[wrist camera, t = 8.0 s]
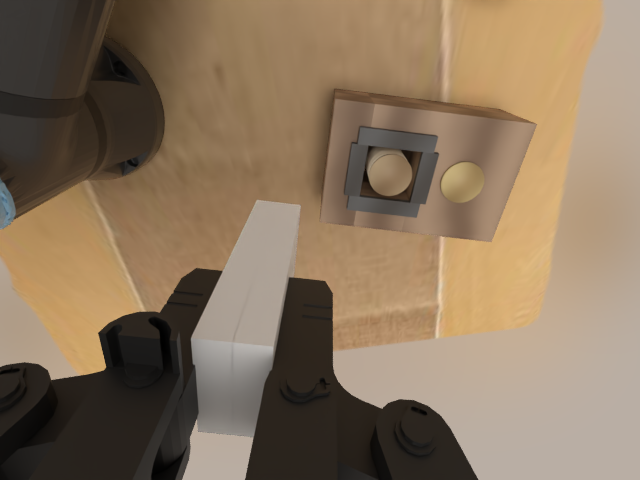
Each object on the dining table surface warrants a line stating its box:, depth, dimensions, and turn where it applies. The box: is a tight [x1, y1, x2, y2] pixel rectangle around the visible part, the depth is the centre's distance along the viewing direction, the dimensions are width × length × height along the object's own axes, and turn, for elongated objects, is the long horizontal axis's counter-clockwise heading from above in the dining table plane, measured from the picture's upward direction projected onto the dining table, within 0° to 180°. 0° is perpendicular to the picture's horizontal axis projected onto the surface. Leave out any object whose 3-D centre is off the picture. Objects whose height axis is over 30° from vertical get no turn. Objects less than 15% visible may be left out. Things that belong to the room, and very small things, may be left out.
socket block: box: [320, 89, 537, 242], centre depth 38 cm, size 18×12×9 cm, turn 84°
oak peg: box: [365, 146, 412, 196], centre depth 37 cm, size 4×4×8 cm
